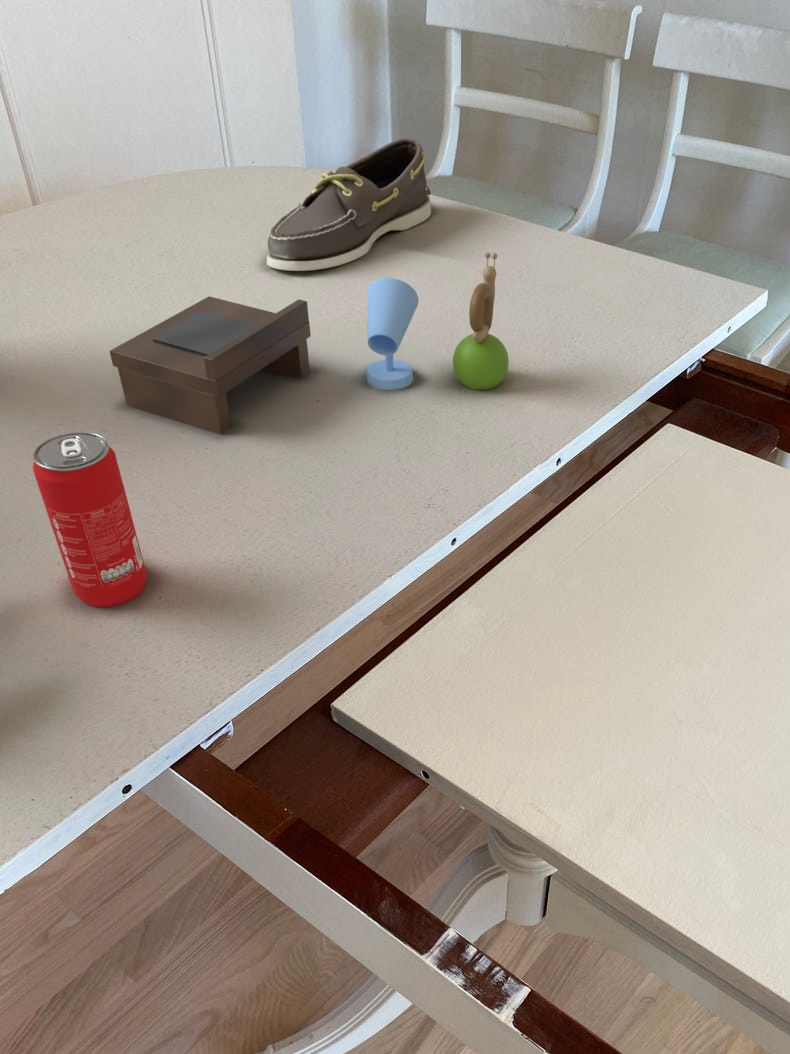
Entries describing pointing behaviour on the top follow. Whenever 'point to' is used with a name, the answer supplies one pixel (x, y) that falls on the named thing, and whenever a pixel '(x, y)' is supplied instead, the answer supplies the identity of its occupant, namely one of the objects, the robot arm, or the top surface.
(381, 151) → the boat shoe
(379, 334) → the spotlight
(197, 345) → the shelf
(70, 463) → the beverage can
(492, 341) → the snail figurine
